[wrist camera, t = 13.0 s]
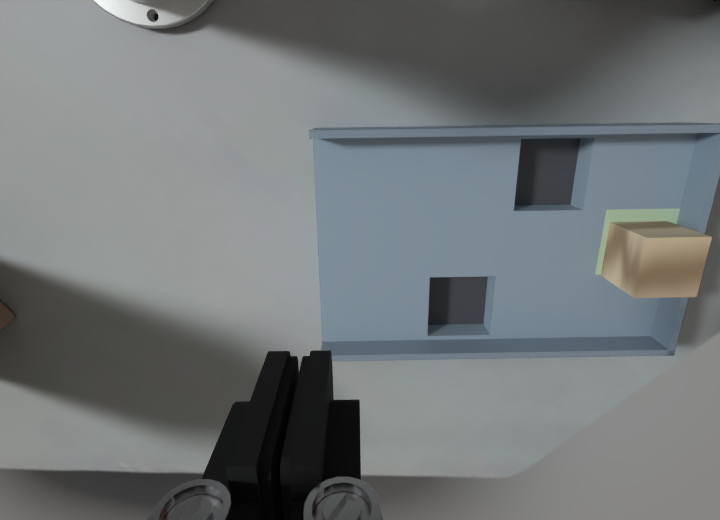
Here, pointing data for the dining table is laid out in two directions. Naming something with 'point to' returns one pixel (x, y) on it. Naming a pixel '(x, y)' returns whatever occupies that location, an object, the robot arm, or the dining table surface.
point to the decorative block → (5, 315)
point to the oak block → (655, 259)
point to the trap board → (498, 236)
